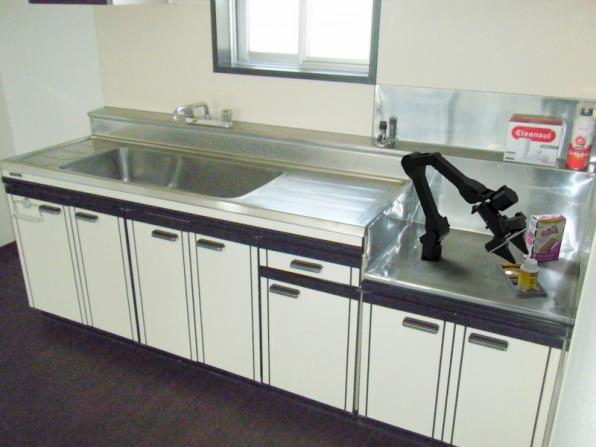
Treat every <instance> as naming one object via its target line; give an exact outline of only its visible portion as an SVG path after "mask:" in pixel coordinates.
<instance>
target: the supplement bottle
mask: <svg viewBox="0 0 596 447" xmlns="http://www.w3.org/2000/svg"><path fill="white" fill-rule="evenodd" d="M523 263H524V264H522V265H521V267H519V269H520V273H519V279H518V283H517V290H518V291H519V292H536V289H537V286H536V284H537V280H538V277H539V272H540V268H539V266H538V263H539V262H537V261H536V260H534V259H525V258H524V260H523Z"/></svg>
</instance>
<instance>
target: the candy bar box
mask: <svg viewBox="0 0 596 447" xmlns="http://www.w3.org/2000/svg"><path fill="white" fill-rule="evenodd" d="M529 217H530V218H529V223H528V227H527V228H528V229H527V235H526V238H525V242H526V245H527V249H528V252H529V254H527V255H525V254H524V253H523V258H524V260H525V259H534V260H536V261H537V262H538V263H542V262H551V261H553V262H554V261H559V257H560V252H561V247H562V243H563V238H564V233H565V229H566V225H567V218H566V217H565V216H564V215H561V213H552V214H551V213H549V214H548V213H547V214H537V215H535V214H532V215H530V216H529Z"/></svg>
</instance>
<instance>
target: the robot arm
mask: <svg viewBox="0 0 596 447" xmlns="http://www.w3.org/2000/svg"><path fill="white" fill-rule="evenodd" d="M400 165H401V167H402V170H403V171H404V173H405V175H407V176H408V177H409V179H411V181H412V184H413V187H414V189H415V192H416V195H417V198H418V201H419V203H420V206H421V209H422V212H423V215H424V219H425V221H424V231H425V233H424V234H422V235H420V236H419V237H418V240H419V243H420V244H421V245H422V246H421V255H420V260H423V261H424V260H425V261H432V262H440V261H441V260H440V259H441V258H442V252H443V244H442V241H443V240H444V239H445V238H446V237H448V235H449V234H450V232H451V229H450V227H451V225H450V223H449V220H448V217H447V216H446V215H445V216H443V215H442V214H440V212H439V209H438V207H437V204H436V201H435V199H434V196H433V192H432V190H431V187H430V184H429V181H428V178H427V176H426V171H427V166H428V167H429V166H431V167H432V168H433V169H434V170H436V172H438V173H439V174H441V175H442V176H443V177H444V178H445V179H446V180H448V182H449V183H451V184H452V185H453V186H454V187H455V188H456V189H457V191H458V193H459V195H460V196H461V198H462V199H463V200H464V201H465V203H468V205H472V206H471V212H470V214H471V215H474V214H476V213H478V215H479V216H480V218H481V219H482V221H483V222H484V224H485V226H484V228H485V230H489V231H490V232H491V234H492V236H493V237H492V238H491V239H490V240H488V242H485V243H484V250H485V251H486V252H487V253H491V254H494V255H496V256H498V257H499V258H502V259H504V261H507V263H512V264H516V263H517V261H516V259H515V256H514V255H513V253H512V252H511V250H510V249H509V248H510V247H509V245H510V244H509V243H511V244H513V245H514V246H515V247H516V248H517V249H518V250H519V251H520V252H521V253H523V255H524V254H525V255H527V254H529V252H528V249H527V245H526V238H525V235H526V232H527V228H528V227H527V221H526V220H527V219H528V218H527V216H526V214H525V213H524V212H522V211H518V212H515V213H514V216H512V217H508V215H507V214H502V213H501V212H504V211H507V210H508V209H509V208H511V207H512V206H514V205H516V204H517V203H518V202H519V196H518V194H517V192H516V191H515V190H513V189H512V188H510V187H508V185H506V184H504V185H502V186H499V188H498V189H497V190H495V189H491V188H489V187H487V186H486V185H485V184H483V183H482V182H480V181H478V180H477V179H474V178H470V177H468V176H467V175H466V174H465V173H463V172H462V171H461V170H459V169H458V168H457V167H456V166H455V165H453V164H452V163H451V162H450V161H449V160H447V158H445V157H444V156H443V155H442V153H441V152H439V151H434V152H420V151H419V150H418V151H417V150H416V151H413V152H410V153H408V154H405V155H403V156H402V157H401V160H400ZM488 200H489V201H488ZM507 239H508V240H507Z"/></svg>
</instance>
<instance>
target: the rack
mask: <svg viewBox="0 0 596 447" xmlns="http://www.w3.org/2000/svg"><path fill="white" fill-rule="evenodd" d="M495 263H496V264H495V266H496V268H497V269H498V270H499V272H500V275H502V276H501V277H503V279H504V280H505V282H506V283H507V285H508V286H509V288H510V289H511V292H512V293H513V294H514V296H515V298H519V297H521V298H522V297H526V298H527V297H528V298H533V297H535V298H537V297H538V298H539V297H540V298H548V293H547V291H546V290H545V289H544V287H543V286H542V284H541V283H540V282H539V280H538V279H537V284H536V289H537V290H539V292H536V291H534V292H522V291H519V290H518V289H516V287H515V285H514V284H518V279H519V273H520V267H521V265H522V264H524V262H516V264H512V263H510V262H497V261H496V262H495ZM504 267H505V269H504Z"/></svg>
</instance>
